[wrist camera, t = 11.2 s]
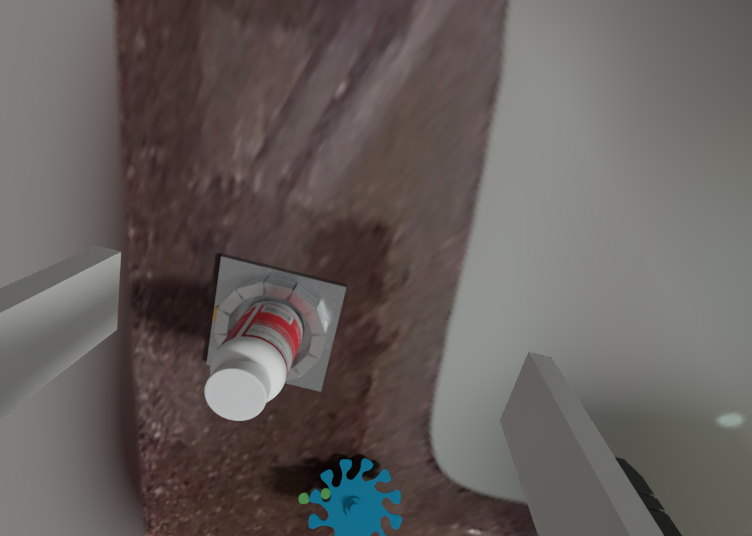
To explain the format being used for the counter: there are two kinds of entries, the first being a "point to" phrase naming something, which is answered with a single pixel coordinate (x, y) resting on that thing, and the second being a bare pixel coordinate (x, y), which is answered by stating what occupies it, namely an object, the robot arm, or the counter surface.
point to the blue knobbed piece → (353, 502)
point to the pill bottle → (253, 360)
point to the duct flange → (298, 291)
